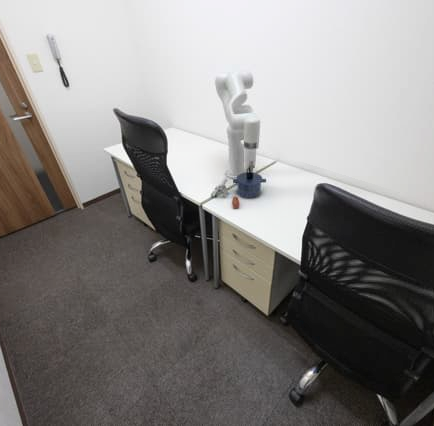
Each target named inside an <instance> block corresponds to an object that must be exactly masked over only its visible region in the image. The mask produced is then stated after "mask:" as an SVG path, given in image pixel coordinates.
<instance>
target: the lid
mask: <svg viewBox="0 0 434 426" xmlns="http://www.w3.org/2000/svg"><path fill="white" fill-rule="evenodd" d="M246 171H247V172H248V169H247V168H246ZM262 179H263V176H262V175H261V174H259V173H257V172H253V179H247V176H246V172H245V173H241V174H239V175H238V176H237V181H238V182H239V183H241V184H244V185H256V184H259V183H260V182H261V181H262ZM261 183H262V182H261Z"/></svg>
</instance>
